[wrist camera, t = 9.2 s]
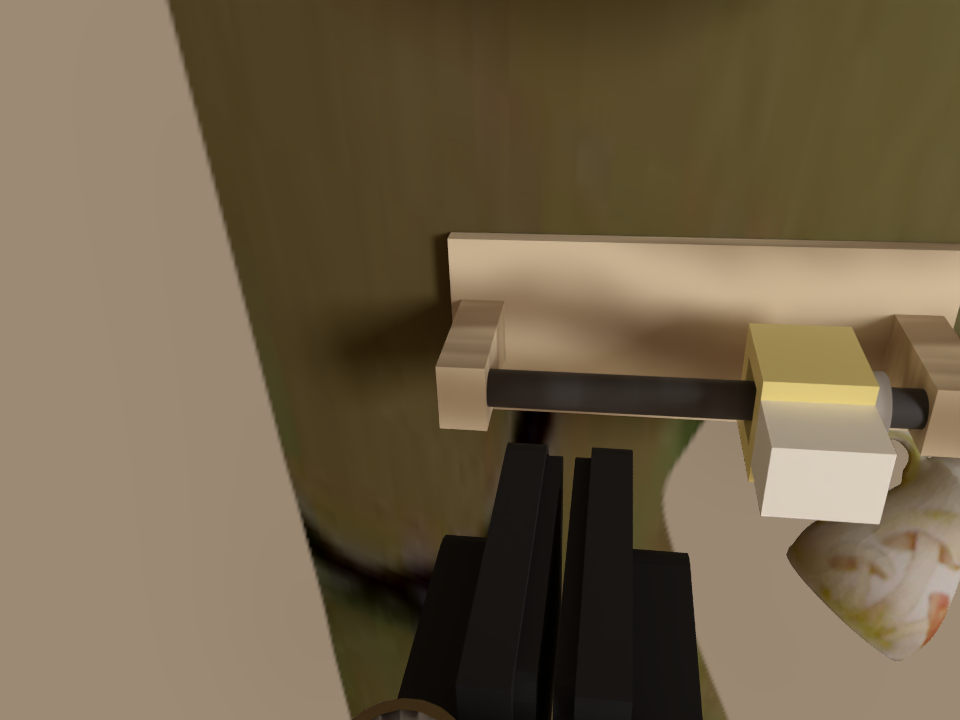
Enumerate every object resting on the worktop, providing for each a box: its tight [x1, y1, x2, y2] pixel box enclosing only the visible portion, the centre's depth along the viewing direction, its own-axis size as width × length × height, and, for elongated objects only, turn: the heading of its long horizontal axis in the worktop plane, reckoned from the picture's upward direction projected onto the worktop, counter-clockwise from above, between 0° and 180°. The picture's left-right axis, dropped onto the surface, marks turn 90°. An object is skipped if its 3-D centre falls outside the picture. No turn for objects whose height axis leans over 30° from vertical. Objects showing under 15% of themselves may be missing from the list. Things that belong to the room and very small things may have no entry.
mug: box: [786, 430, 960, 661], centre depth 41 cm, size 8×10×10 cm
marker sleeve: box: [737, 323, 897, 524], centre depth 33 cm, size 5×4×8 cm
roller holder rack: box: [436, 232, 960, 458], centre depth 37 cm, size 9×22×7 cm, turn 92°
